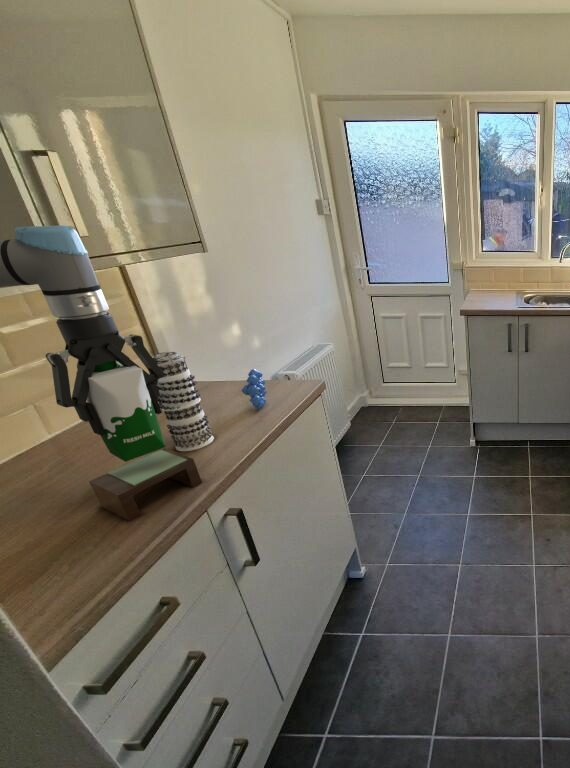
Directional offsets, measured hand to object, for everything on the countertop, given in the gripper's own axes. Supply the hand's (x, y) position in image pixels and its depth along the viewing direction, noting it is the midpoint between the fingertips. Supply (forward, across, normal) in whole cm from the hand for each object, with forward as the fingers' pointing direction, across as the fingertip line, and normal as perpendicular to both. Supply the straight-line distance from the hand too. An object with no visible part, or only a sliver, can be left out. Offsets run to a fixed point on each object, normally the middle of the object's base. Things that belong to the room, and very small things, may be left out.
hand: (129, 422), depth 85 cm
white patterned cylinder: (+18, +16, +15) cm, 28 cm away
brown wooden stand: (+17, -1, 0) cm, 18 cm away
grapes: (+18, +38, +20) cm, 46 cm away
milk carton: (+7, 0, 0) cm, 7 cm away
